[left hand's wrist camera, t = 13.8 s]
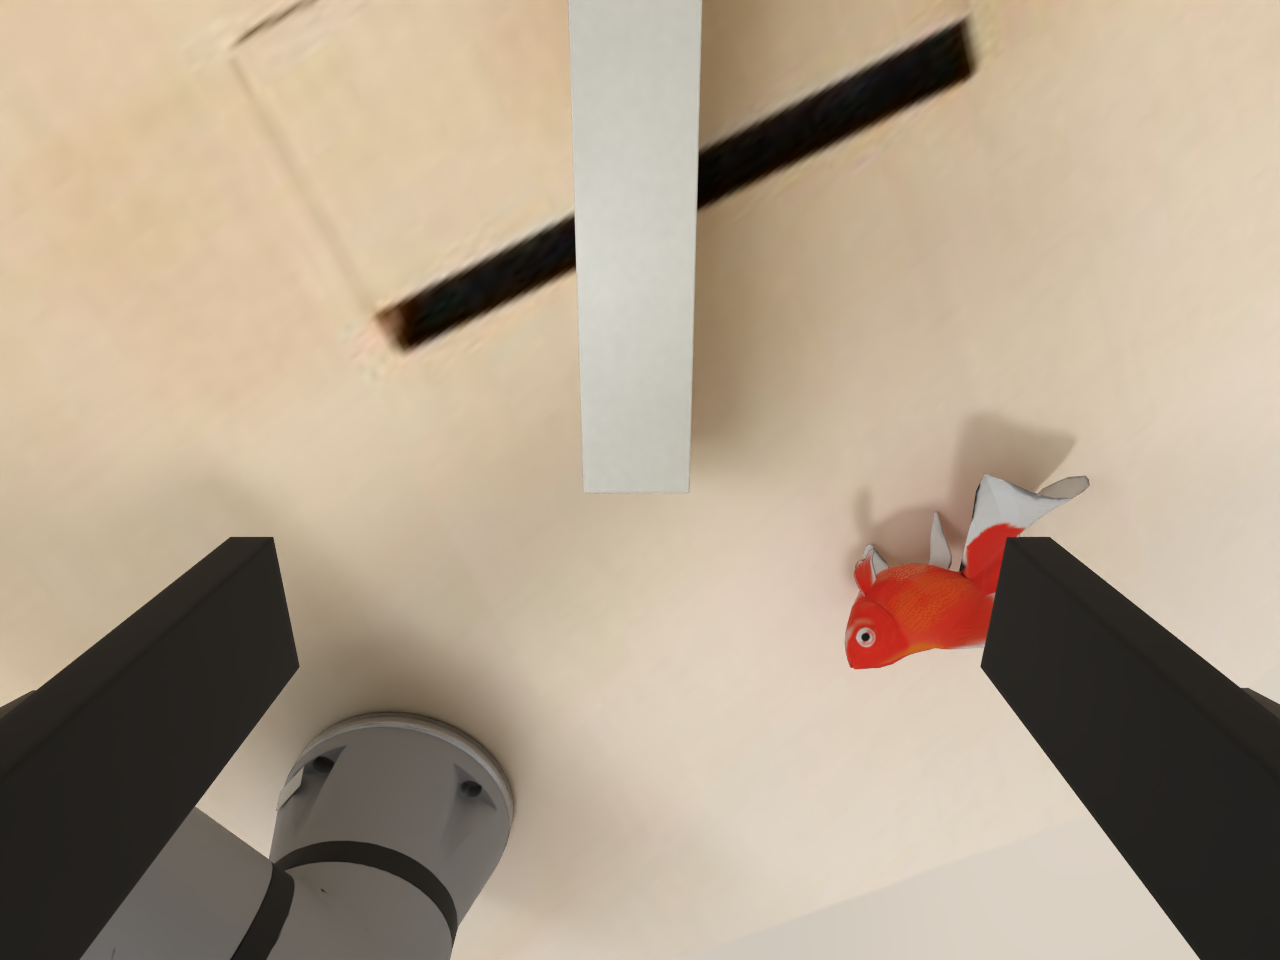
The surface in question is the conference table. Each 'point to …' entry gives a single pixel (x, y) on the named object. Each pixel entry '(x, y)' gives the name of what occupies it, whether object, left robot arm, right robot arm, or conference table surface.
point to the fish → (944, 580)
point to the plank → (635, 236)
